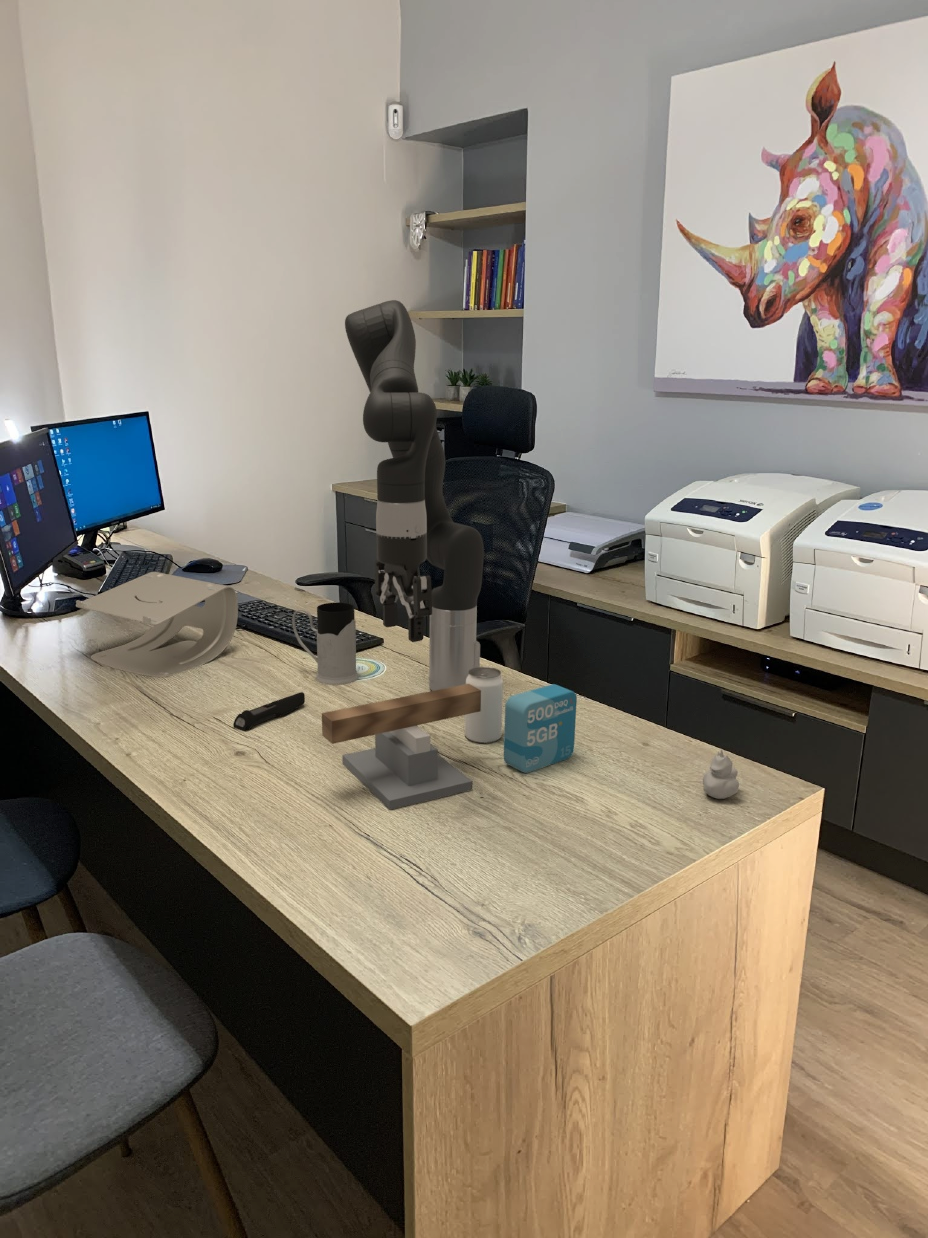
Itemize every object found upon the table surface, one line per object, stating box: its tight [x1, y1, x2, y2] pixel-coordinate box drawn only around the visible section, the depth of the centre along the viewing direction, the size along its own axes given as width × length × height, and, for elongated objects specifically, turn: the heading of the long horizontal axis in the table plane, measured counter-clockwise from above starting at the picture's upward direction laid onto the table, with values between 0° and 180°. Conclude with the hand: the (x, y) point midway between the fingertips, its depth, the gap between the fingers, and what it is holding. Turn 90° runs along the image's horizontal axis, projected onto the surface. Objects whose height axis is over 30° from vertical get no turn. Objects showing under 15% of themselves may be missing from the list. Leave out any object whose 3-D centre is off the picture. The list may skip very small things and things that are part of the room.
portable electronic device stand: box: [75, 571, 239, 678], centre depth 199 cm, size 26×24×16 cm
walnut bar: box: [321, 684, 481, 745], centre depth 143 cm, size 26×4×4 cm, turn 122°
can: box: [464, 666, 504, 744], centre depth 160 cm, size 6×6×12 cm
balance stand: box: [341, 725, 473, 811], centre depth 144 cm, size 14×18×9 cm
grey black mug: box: [291, 602, 359, 686], centre depth 188 cm, size 9×14×15 cm, turn 71°
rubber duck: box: [702, 748, 740, 800], centre depth 140 cm, size 5×7×8 cm
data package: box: [503, 683, 578, 774], centre depth 150 cm, size 12×4×12 cm, turn 129°
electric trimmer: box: [232, 691, 306, 732], centre depth 168 cm, size 4×16×3 cm, turn 143°
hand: (402, 633), depth 142 cm, fingers open, 8 cm apart
